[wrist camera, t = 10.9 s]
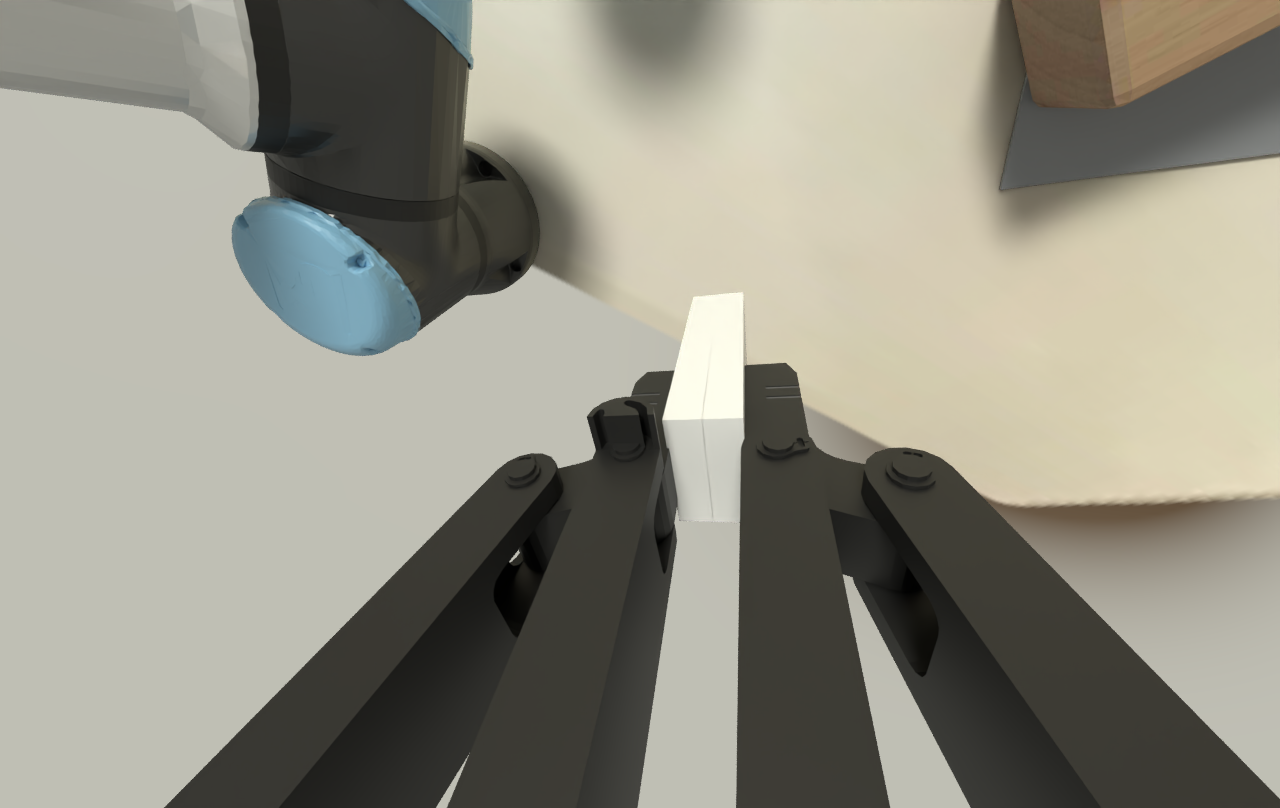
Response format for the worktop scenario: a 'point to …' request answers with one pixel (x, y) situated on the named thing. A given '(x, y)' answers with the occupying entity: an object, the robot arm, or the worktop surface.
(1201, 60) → the wooden block
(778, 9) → the worktop surface
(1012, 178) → the mat
